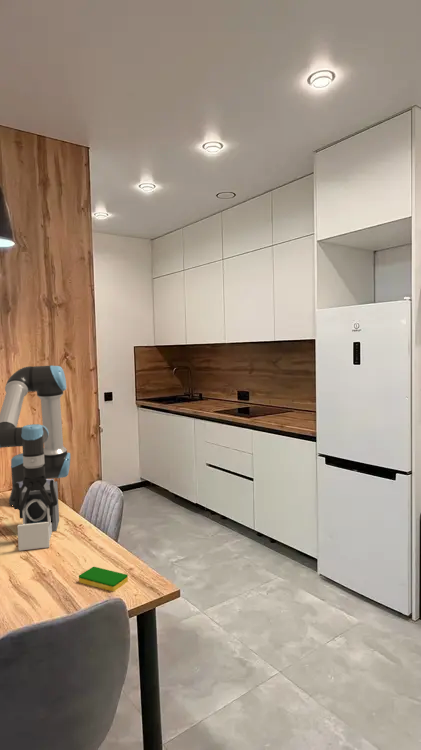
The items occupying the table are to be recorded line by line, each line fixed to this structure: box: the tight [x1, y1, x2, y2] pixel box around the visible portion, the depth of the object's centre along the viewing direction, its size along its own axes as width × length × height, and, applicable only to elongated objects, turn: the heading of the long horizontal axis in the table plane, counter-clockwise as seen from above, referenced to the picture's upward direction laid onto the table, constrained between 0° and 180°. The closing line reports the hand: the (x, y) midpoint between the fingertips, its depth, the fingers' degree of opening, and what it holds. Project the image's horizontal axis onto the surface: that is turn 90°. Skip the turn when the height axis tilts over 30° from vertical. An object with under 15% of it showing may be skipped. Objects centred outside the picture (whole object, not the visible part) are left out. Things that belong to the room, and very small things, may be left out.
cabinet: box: [22, 480, 60, 532], centre depth 192 cm, size 12×12×17 cm
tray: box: [17, 522, 53, 552], centre depth 178 cm, size 16×10×9 cm, turn 13°
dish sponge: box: [78, 566, 129, 592], centre depth 146 cm, size 7×14×2 cm, turn 62°
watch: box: [25, 499, 47, 524], centre depth 179 cm, size 6×8×11 cm
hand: (37, 524), depth 180 cm, fingers closed on watch, 8 cm apart
